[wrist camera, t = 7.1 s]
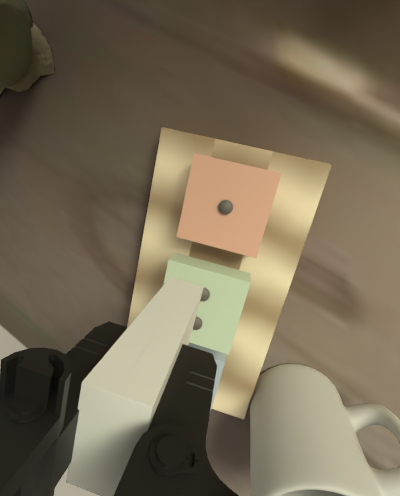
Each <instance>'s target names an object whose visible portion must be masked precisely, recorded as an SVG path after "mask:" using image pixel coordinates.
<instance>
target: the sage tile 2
mask: <svg viewBox="0 0 400 496" xmlns="http://www.w3.org/2000/svg"><path fill="white" fill-rule="evenodd" d="M170 277H172V278H175V279H179V280H182V281H186V282H189V283H192V284H196V285H199V286H203V287H204V288H203V292H202V296H201V299H200V303H199V307H198V311H197V314H196V318H195V322H194V326H193V330H192V333H191V337H190V341H189V342H190V343H193V344H196V345H199V346H202V347H206V348H209V349H212V350H215V351H218V352H222V353H225V354H228V355H229V353H230V349H231V346H232V343H233V339H234V336H235V333H236V330H237V326H238V323H239V320H240V316H241V313H242V310H243V306H244V303H245V300H246V296H247V293H248V290H249V286H250V283H251V273H248V272H244V271H240V270H237V269H233V268H230V267H226V266H222V265H219V264H215V263H211V262H208V261H204V260H200V259H197V258H193V257H189V256H186V255H182V254H179V253H175V254H174V255H173V256H172V257H171V258H170V259H169V260H168V264H167V269H166V274H165V279H164V284H165V283H166V282H167V281H168V280H169V278H170ZM164 284H163V285H164Z"/></svg>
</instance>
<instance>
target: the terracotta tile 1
mask: <svg viewBox="0 0 400 496" xmlns="http://www.w3.org/2000/svg"><path fill="white" fill-rule="evenodd" d="M281 174H282V173H278V172H274V171H270V170H265V169H261V168H257V167H252V166H248V165H243V164H239V163H235V162H230V161H226V160H222V159H217V158H213V157H209V156H204V155H200V154H195V153H194V155H193V160H192V165H191V170H190V174H189V179H188V184H187V189H186V194H185V198H184V203H183V208H182V213H181V218H180V222H179V227H178V232H177V237H179V238H182V239H186V240H190V241H193V242H197V243H201V244H205V245H208V246H212V247H216V248H220V249H223V250H227V251H231V252H235V253H238V254H242V255H246V256H250V257H253V258H257V254H258V251H259V247H260V244H261V241H262V237H263V234H264V231H265V227H266V224H267V221H268V217H269V214H270V211H271V207H272V204H273V201H274V197H275V194H276V191H277V187H278V184H279V181H280V177H281Z"/></svg>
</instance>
